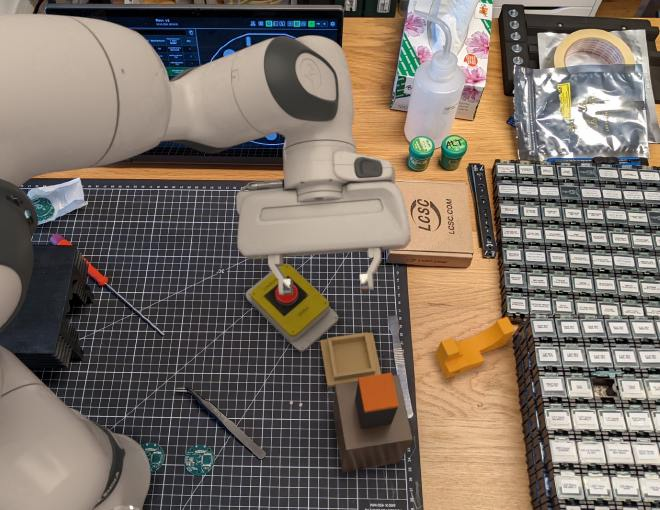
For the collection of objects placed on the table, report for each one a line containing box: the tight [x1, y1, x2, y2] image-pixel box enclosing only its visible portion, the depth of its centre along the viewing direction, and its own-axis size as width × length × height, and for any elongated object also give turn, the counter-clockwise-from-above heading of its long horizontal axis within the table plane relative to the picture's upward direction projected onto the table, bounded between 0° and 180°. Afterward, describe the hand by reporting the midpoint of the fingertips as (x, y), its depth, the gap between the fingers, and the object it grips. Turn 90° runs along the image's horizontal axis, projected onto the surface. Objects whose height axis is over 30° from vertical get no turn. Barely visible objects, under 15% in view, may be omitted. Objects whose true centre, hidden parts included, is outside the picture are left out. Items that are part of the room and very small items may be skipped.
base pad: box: [319, 331, 382, 388], centre depth 102 cm, size 9×8×3 cm
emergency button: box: [245, 263, 339, 353], centre depth 106 cm, size 9×4×15 cm
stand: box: [332, 374, 414, 473], centre depth 91 cm, size 9×9×16 cm
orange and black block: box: [355, 372, 399, 429], centre depth 80 cm, size 4×4×9 cm
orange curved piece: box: [434, 316, 516, 380], centre depth 102 cm, size 12×4×6 cm, turn 111°
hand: (326, 292), depth 72 cm, fingers open, 8 cm apart
